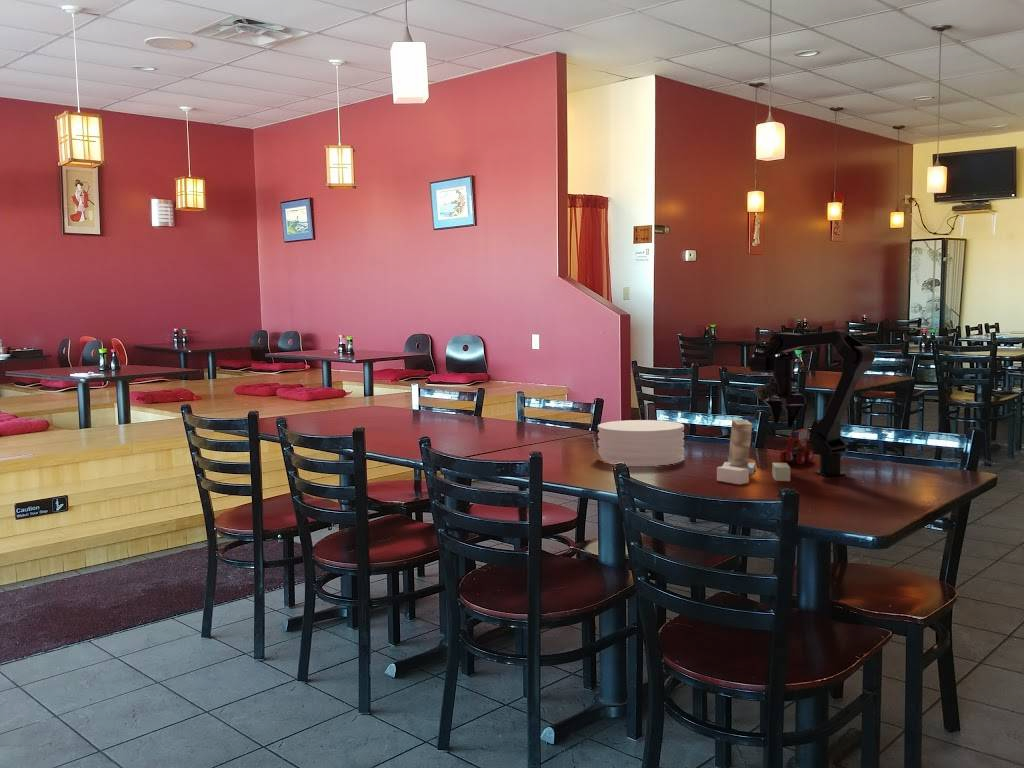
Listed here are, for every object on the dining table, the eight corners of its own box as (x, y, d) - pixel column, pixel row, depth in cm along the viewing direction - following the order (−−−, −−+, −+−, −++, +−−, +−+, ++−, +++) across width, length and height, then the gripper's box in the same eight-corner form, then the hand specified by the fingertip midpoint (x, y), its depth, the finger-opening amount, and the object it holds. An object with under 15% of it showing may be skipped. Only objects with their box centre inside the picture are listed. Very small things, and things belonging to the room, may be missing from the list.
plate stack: (614, 451, 309) (613, 418, 308) (693, 455, 297) (693, 421, 296) (585, 464, 284) (585, 429, 283) (671, 469, 272) (671, 432, 271)
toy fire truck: (776, 464, 276) (776, 431, 275) (795, 459, 285) (795, 427, 284) (797, 466, 271) (798, 433, 270) (815, 461, 280) (815, 428, 279)
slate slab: (755, 471, 269) (755, 462, 269) (752, 476, 260) (752, 468, 260) (724, 469, 272) (724, 461, 272) (721, 475, 263) (721, 466, 263)
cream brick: (748, 483, 248) (748, 469, 248) (739, 485, 246) (739, 470, 245) (725, 479, 254) (725, 465, 254) (716, 481, 252) (716, 467, 252)
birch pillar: (742, 460, 268) (746, 419, 265) (747, 465, 264) (752, 424, 261) (728, 460, 268) (732, 419, 264) (733, 466, 263) (737, 424, 260)
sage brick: (790, 481, 249) (790, 467, 249) (775, 481, 250) (775, 467, 249) (786, 476, 257) (786, 462, 256) (772, 476, 258) (772, 462, 257)
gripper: (744, 373, 276) (744, 422, 277) (770, 377, 257) (770, 430, 259) (778, 371, 277) (778, 421, 279) (806, 376, 259) (806, 428, 260)
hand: (782, 425), depth 269 cm, fingers open, 9 cm apart
